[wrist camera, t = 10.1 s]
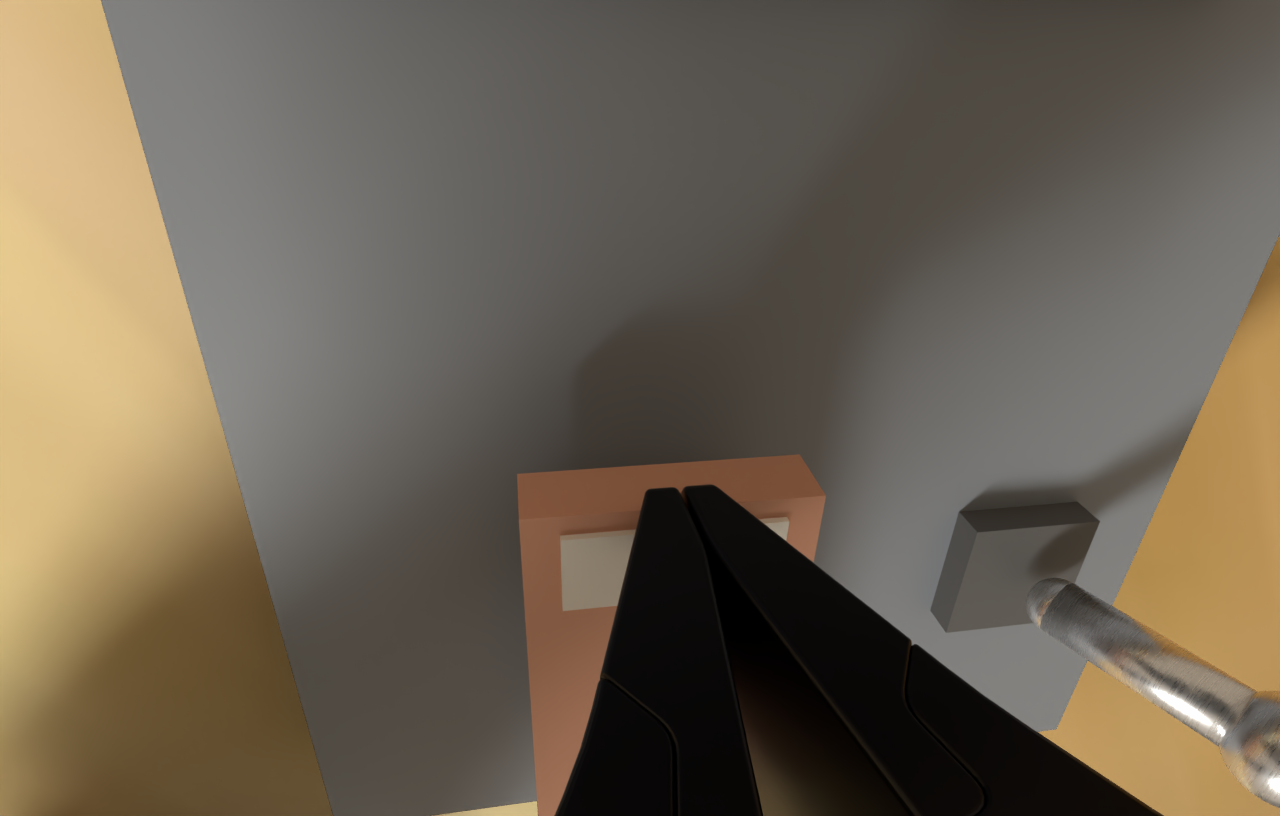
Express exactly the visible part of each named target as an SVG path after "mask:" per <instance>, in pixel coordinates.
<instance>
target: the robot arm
mask: <svg viewBox="0 0 1280 816" xmlns="http://www.w3.org/2000/svg"><path fill="white" fill-rule="evenodd" d="M554 816H1164V815H1162V814H1160V813H1159V812H1157V811H1156V810H1154V809H1152V808H1151V807H1149V806H1148V805H1146V804H1145V803H1143V802H1142V801H1140V800H1139V799H1137V798H1136V797H1134V796H1133V795H1131V794H1130V793H1128V792H1127V791H1125V790H1124V789H1122V788H1121V787H1119V786H1118V785H1116V784H1115V783H1113V782H1112V781H1110V780H1109V779H1107V778H1106V777H1104V776H1103V775H1101V774H1100V773H1098V772H1097V771H1095V770H1094V769H1092V768H1091V767H1089V766H1088V765H1086V764H1085V763H1083V762H1082V761H1080V760H1079V759H1077V758H1076V757H1074V756H1073V755H1071V754H1070V753H1068V752H1067V751H1065V750H1064V749H1062V748H1061V747H1059V746H1058V745H1056V744H1055V743H1053V742H1052V741H1050V740H1049V739H1047V738H1046V737H1044V736H1043V735H1041V734H1040V733H1038V732H1036V731H1035V730H1033V729H1032V728H1031V727H1029V726H1028V725H1026V724H1025V723H1023V722H1022V721H1020V720H1019V719H1018V718H1016V717H1015V716H1013V715H1012V714H1010V713H1009V712H1007V711H1006V710H1005V709H1003V708H1002V707H1000V706H999V705H997V704H996V703H994V702H993V701H992V700H990V699H989V698H987V697H986V696H984V695H983V694H982V693H980V692H979V691H978V690H976V689H975V688H974V687H972V686H971V685H970V684H968V683H967V682H966V681H964V680H963V679H962V678H960V677H959V676H958V675H956V674H955V673H954V672H952V671H951V670H950V669H948V668H947V667H946V666H944V665H943V664H942V663H941V662H939V661H938V660H937V659H936V658H934V657H933V656H932V655H930V654H929V653H928V652H927V651H925V650H924V649H923V648H922V647H920V646H919V645H917V644H914V645H912V641H911V639H910V638H909V637H907V636H906V635H905V634H903V633H902V632H901V631H900V630H898V629H897V628H896V627H895V626H893V625H892V624H891V623H890V622H888V621H887V620H886V619H884V618H883V617H882V616H881V615H879V614H878V613H877V612H876V611H874V610H873V609H872V608H870V607H869V606H868V605H867V604H865V603H864V602H863V601H862V600H860V599H859V598H858V597H857V596H855V595H854V594H853V593H851V592H850V591H849V590H848V589H846V588H845V587H844V586H843V585H841V584H840V583H839V582H838V581H836V580H835V579H834V578H832V577H831V576H830V575H829V574H827V573H826V572H825V571H824V570H822V569H821V568H820V567H819V566H817V565H816V564H815V563H813V562H812V561H811V560H810V559H808V558H807V557H806V556H805V555H803V554H802V553H801V552H799V551H798V550H797V549H796V548H794V547H793V546H792V545H791V544H789V543H788V542H787V541H786V540H784V539H783V538H782V537H780V536H779V535H778V534H777V533H775V532H774V531H773V530H772V529H770V528H769V527H768V526H767V525H765V524H764V523H763V522H761V521H760V520H759V519H758V518H756V517H755V516H754V515H753V514H751V513H750V512H749V511H747V510H746V509H745V508H744V507H742V506H741V505H740V504H739V503H737V502H736V501H735V500H734V499H732V498H731V497H730V496H728V495H727V494H726V493H725V492H723V491H722V490H721V489H720V488H718V487H717V486H715V485H712V484H707V485H693V486H686V487H684V488H683V489H682V491H681V494H680V492H679V490H678V489H677V488H675V487H666V488H652V489H648V490H646V492H645V494H644V498H643V502H642V507H641V511H640V515H639V519H638V523H637V527H636V531H635V535H634V539H633V543H632V547H631V551H630V556H629V560H628V564H627V568H626V572H625V576H624V580H623V584H622V588H621V592H620V596H619V601H618V605H617V609H616V613H615V617H614V621H613V625H612V629H611V633H610V637H609V641H608V645H607V650H606V654H605V658H604V662H603V666H602V670H601V674H600V681H599V682H598V684H597V689H596V693H595V697H594V701H593V705H592V709H591V713H590V716H589V720H588V723H587V726H586V730H585V733H584V737H583V740H582V744H581V747H580V750H579V753H578V756H577V758H576V761H575V764H574V766H573V769H572V772H571V774H570V777H569V780H568V783H567V785H566V788H565V791H564V793H563V796H562V798H561V801H560V803H559V806H558V808H557V811H556V813H555V815H554Z"/></svg>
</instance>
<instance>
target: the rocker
mask: <svg viewBox="0 0 1280 816" xmlns="http://www.w3.org/2000/svg"><path fill="white" fill-rule="evenodd" d="M707 484H712V485H715V486H717V487H718V488H720V489H721V490H722V491H723V492H725V493H726V494H727V495H728V496H730V497H731V498H732V499H734V500H735V501H736V502H737V503H739V504H740V505H741V506H742V507H744V508H745V509H746V510H747V511H749V512H750V513H751V514H753V515H754V516H755V517H756V518H758V519H759V520H760V521H761V522H763V523H764V524H765V525H767V526H768V527H769V528H770V529H772V530H773V531H774V532H775V533H777V534H778V535H779V536H780V537H782V538H783V539H784V540H786V541H787V542H788V543H789V544H791V545H792V546H793V547H794V548H796V549H797V550H798V551H799V552H801V553H802V554H803V555H805V556H806V557H807V558H808V559H810V560H811V561H812V562H813V563H814V557H815V552H816V547H817V541H818V536H819V531H820V525H821V520H822V515H823V510H824V504H825V499H826V495H825V493H824V492H823V490H822V489H821V487H820V485H819V484H818V482H817V481H816V479H815V478H814V476H813V474H812V473H811V471H810V470H809V468H808V467H807V465H806V464H805V462H804V460H803V459H802V457H801V456H800V454H798V455H784V456H769V457H755V458H740V459H726V460H711V461H697V462H682V463H668V464H653V465H639V466H624V467H610V468H595V469H581V470H566V471H552V472H537V473H523V474H517V485H518V511H519V530H520V545H521V561H522V576H523V592H524V607H525V622H526V638H527V653H528V669H529V684H530V700H531V715H532V730H533V746H534V761H535V777H536V792H537V807H538V816H554V815H555V813H556V811H557V808H558V806H559V803H560V801H561V798H562V796H563V793H564V791H565V788H566V785H567V783H568V780H569V777H570V774H571V772H572V769H573V766H574V764H575V761H576V758H577V756H578V753H579V750H580V747H581V744H582V740H583V737H584V733H585V730H586V726H587V723H588V720H589V716H590V713H591V709H592V705H593V701H594V697H595V693H596V689H597V684H598V682H599V681H600V674H601V670H602V666H603V662H604V658H605V654H606V650H607V645H608V641H609V637H610V633H611V629H612V625H613V621H614V617H615V613H616V609H617V605H618V601H619V596H620V592H621V588H622V584H623V580H624V576H625V572H626V568H627V564H628V560H629V556H630V551H631V547H632V543H633V539H634V535H635V531H636V527H637V523H638V519H639V515H640V511H641V507H642V502H643V498H644V494H645V492H646V490H648V489H652V488H666V487H675V488H677V489H678V490H679V492H680V494H681V491H682V489H683V488H684V487H686V486H693V485H707Z"/></svg>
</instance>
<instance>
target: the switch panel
mask: <svg viewBox="0 0 1280 816" xmlns="http://www.w3.org/2000/svg"><path fill="white" fill-rule="evenodd" d="M101 2H102V6H103V9H104V13H105V16H106V20H107V23H108V27H109V30H110V34H111V37H112V41H113V44H114V48H115V51H116V55H117V58H118V62H119V65H120V69H121V73H122V76H123V80H124V83H125V87H126V90H127V94H128V97H129V101H130V104H131V108H132V111H133V115H134V118H135V122H136V125H137V129H138V132H139V136H140V139H141V143H142V146H143V150H144V153H145V157H146V160H147V164H148V167H149V171H150V174H151V178H152V181H153V185H154V188H155V192H156V195H157V199H158V202H159V206H160V209H161V213H162V216H163V220H164V223H165V227H166V230H167V234H168V237H169V241H170V245H171V248H172V252H173V255H174V259H175V262H176V266H177V269H178V273H179V276H180V280H181V283H182V287H183V290H184V294H185V297H186V301H187V304H188V308H189V311H190V315H191V318H192V322H193V325H194V329H195V332H196V336H197V339H198V343H199V346H200V350H201V353H202V357H203V360H204V364H205V367H206V371H207V374H208V378H209V381H210V385H211V388H212V392H213V395H214V399H215V402H216V406H217V409H218V413H219V416H220V420H221V424H222V427H223V431H224V434H225V438H226V441H227V445H228V448H229V452H230V455H231V459H232V462H233V466H234V469H235V473H236V476H237V480H238V483H239V487H240V490H241V494H242V497H243V501H244V504H245V508H246V511H247V515H248V518H249V522H250V525H251V529H252V532H253V536H254V539H255V543H256V546H257V550H258V553H259V557H260V560H261V564H262V567H263V571H264V574H265V578H266V581H267V585H268V588H269V592H270V595H271V599H272V603H273V606H274V610H275V613H276V617H277V620H278V624H279V627H280V631H281V634H282V638H283V641H284V645H285V648H286V652H287V655H288V659H289V662H290V666H291V669H292V673H293V676H294V680H295V683H296V687H297V690H298V694H299V697H300V701H301V704H302V708H303V711H304V715H305V718H306V722H307V725H308V729H309V732H310V736H311V739H312V743H313V746H314V750H315V753H316V757H317V760H318V764H319V767H320V771H321V775H322V778H323V782H324V785H325V789H326V792H327V796H328V799H329V803H330V806H331V810H332V813H333V816H432V815H439V814H446V813H453V812H461V811H468V810H475V809H482V808H490V807H497V806H504V805H511V804H518V803H526V802H533V801H537V792H536V777H535V761H534V746H533V730H532V715H531V700H530V684H529V669H528V653H527V638H526V622H525V607H524V592H523V576H522V561H521V545H520V530H519V511H518V485H517V474H523V473H537V472H552V471H566V470H581V469H595V468H610V467H624V466H639V465H653V464H668V463H682V462H697V461H711V460H726V459H740V458H755V457H769V456H784V455H798V454H800V456H801V457H802V459H803V460H804V462H805V464H806V465H807V467H808V468H809V470H810V471H811V473H812V474H813V476H814V478H815V479H816V481H817V482H818V484H819V485H820V487H821V489H822V490H823V492H824V493H825V495H826V499H825V504H824V510H823V515H822V520H821V525H820V531H819V536H818V541H817V547H816V552H815V557H814V563H815V564H816V565H817V566H819V567H820V568H821V569H822V570H824V571H825V572H826V573H827V574H829V575H830V576H831V577H832V578H834V579H835V580H836V581H838V582H839V583H840V584H841V585H843V586H844V587H845V588H846V589H848V590H849V591H850V592H851V593H853V594H854V595H855V596H857V597H858V598H859V599H860V600H862V601H863V602H864V603H865V604H867V605H868V606H869V607H870V608H872V609H873V610H874V611H876V612H877V613H878V614H879V615H881V616H882V617H883V618H884V619H886V620H887V621H888V622H890V623H891V624H892V625H893V626H895V627H896V628H897V629H898V630H900V631H901V632H902V633H903V634H905V635H906V636H907V637H909V638H910V639H911V641H912V645H914V644H917V645H919V646H920V647H922V648H923V649H924V650H925V651H927V652H928V653H929V654H930V655H932V656H933V657H934V658H936V659H937V660H938V661H939V662H941V663H942V664H943V665H944V666H946V667H947V668H948V669H950V670H951V671H952V672H954V673H955V674H956V675H958V676H959V677H960V678H962V679H963V680H964V681H966V682H967V683H968V684H970V685H971V686H972V687H974V688H975V689H976V690H978V691H979V692H980V693H982V694H983V695H984V696H986V697H987V698H989V699H990V700H992V701H993V702H994V703H996V704H997V705H999V706H1000V707H1002V708H1003V709H1005V710H1006V711H1007V712H1009V713H1010V714H1012V715H1013V716H1015V717H1016V718H1018V719H1019V720H1020V721H1022V722H1023V723H1025V724H1026V725H1028V726H1029V727H1031V728H1032V729H1033V730H1035V731H1036V732H1040V731H1047V730H1054V729H1057V727H1058V725H1059V722H1060V720H1061V718H1062V716H1063V714H1064V711H1065V709H1066V707H1067V705H1068V702H1069V700H1070V698H1071V696H1072V694H1073V691H1074V689H1075V687H1076V685H1077V682H1078V680H1079V678H1080V676H1081V674H1082V671H1083V669H1084V667H1085V665H1086V663H1087V660H1086V659H1085V658H1083V657H1082V656H1080V655H1079V654H1077V653H1075V652H1074V651H1072V650H1071V649H1069V648H1068V647H1066V646H1065V645H1063V644H1062V643H1060V642H1059V641H1057V640H1056V639H1054V638H1053V637H1051V636H1050V635H1048V634H1047V633H1045V632H1044V631H1042V630H1041V629H1039V628H1038V627H1037V626H1036V625H1035V624H1034V623H1033V622H1032V620H1031V619H1030V617H1029V615H1028V612H1027V610H1026V597H1027V594H1028V592H1029V590H1030V589H1031V588H1032V587H1033V585H1034V584H1036V583H1037V582H1039V581H1041V580H1044V579H1047V578H1062V579H1065V580H1068V581H1070V582H1073V583H1074V584H1076V585H1078V586H1079V587H1081V588H1083V589H1085V590H1086V591H1088V592H1090V593H1091V594H1093V595H1095V596H1096V597H1098V598H1100V599H1101V600H1103V601H1105V602H1107V603H1108V604H1110V605H1113V603H1114V600H1115V598H1116V596H1117V594H1118V592H1119V589H1120V587H1121V585H1122V583H1123V580H1124V578H1125V576H1126V574H1127V572H1128V569H1129V567H1130V565H1131V563H1132V561H1133V558H1134V556H1135V554H1136V552H1137V549H1138V547H1139V545H1140V543H1141V541H1142V538H1143V536H1144V534H1145V532H1146V529H1147V527H1148V525H1149V523H1150V521H1151V518H1152V516H1153V514H1154V512H1155V510H1156V507H1157V505H1158V503H1159V501H1160V498H1161V496H1162V494H1163V492H1164V490H1165V487H1166V485H1167V483H1168V481H1169V478H1170V476H1171V474H1172V472H1173V470H1174V467H1175V465H1176V463H1177V461H1178V459H1179V456H1180V454H1181V452H1182V450H1183V447H1184V445H1185V443H1186V441H1187V439H1188V436H1189V434H1190V432H1191V430H1192V427H1193V425H1194V423H1195V421H1196V419H1197V416H1198V414H1199V412H1200V410H1201V408H1202V405H1203V403H1204V401H1205V399H1206V396H1207V394H1208V392H1209V390H1210V388H1211V385H1212V383H1213V381H1214V379H1215V376H1216V374H1217V372H1218V370H1219V368H1220V365H1221V363H1222V361H1223V359H1224V357H1225V354H1226V352H1227V350H1228V348H1229V345H1230V343H1231V341H1232V339H1233V337H1234V334H1235V332H1236V330H1237V328H1238V325H1239V323H1240V321H1241V319H1242V317H1243V314H1244V312H1245V310H1246V308H1247V306H1248V303H1249V301H1250V299H1251V297H1252V294H1253V292H1254V290H1255V288H1256V286H1257V283H1258V281H1259V279H1260V277H1261V274H1262V272H1263V270H1264V268H1265V266H1266V263H1267V261H1268V259H1269V257H1270V255H1271V252H1272V250H1273V248H1274V246H1275V243H1276V241H1277V239H1278V237H1279V235H1280V0H101Z"/></svg>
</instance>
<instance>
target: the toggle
mask: <svg viewBox="0 0 1280 816" xmlns="http://www.w3.org/2000/svg"><path fill="white" fill-rule="evenodd" d="M1026 610H1027V612H1028V615H1029V617H1030V619H1031V620H1032V622H1033V623H1034V624H1035V625H1036V626H1037V627H1038V628H1039V629H1041V630H1042V631H1044V632H1045V633H1047V634H1048V635H1050V636H1051V637H1053V638H1054V639H1056V640H1057V641H1059V642H1060V643H1062V644H1063V645H1065V646H1066V647H1068V648H1069V649H1071V650H1072V651H1074V652H1075V653H1077V654H1079V655H1080V656H1082V657H1083V658H1085V659H1086V660H1088V661H1089V662H1091V663H1092V664H1094V665H1095V666H1097V667H1098V668H1100V669H1101V670H1103V671H1104V672H1106V673H1107V674H1109V675H1110V676H1112V677H1114V678H1115V679H1117V680H1118V681H1120V682H1121V683H1123V684H1124V685H1126V686H1127V687H1129V688H1130V689H1132V690H1133V691H1135V692H1136V693H1138V694H1139V695H1141V696H1142V697H1144V698H1145V699H1147V700H1148V701H1150V702H1152V703H1153V704H1155V705H1156V706H1158V707H1159V708H1161V709H1162V710H1164V711H1165V712H1167V713H1168V714H1170V715H1171V716H1173V717H1174V718H1176V719H1177V720H1179V721H1180V722H1182V723H1183V724H1185V725H1186V726H1188V727H1190V728H1191V729H1193V730H1194V731H1196V732H1197V733H1199V734H1200V735H1202V736H1203V737H1205V738H1206V739H1208V740H1209V741H1211V742H1212V743H1214V744H1215V745H1217V746H1218V747H1219V750H1220V753H1221V756H1222V758H1223V761H1224V762H1225V764H1226V766H1227V768H1228V769H1229V770H1230V772H1231V773H1232V775H1233V776H1234V777H1235V778H1236V779H1237V780H1238V781H1239V783H1240V784H1242V785H1243V786H1244V787H1245V788H1246V789H1247V790H1248V791H1250V792H1251V793H1252V794H1254V795H1255V796H1257V797H1258V798H1260V799H1261V800H1263V801H1265V802H1267V803H1269V804H1271V805H1273V806H1276V807H1278V808H1280V691H1260V692H1257V691H1256V690H1254V689H1252V688H1250V687H1249V686H1247V685H1245V684H1244V683H1242V682H1240V681H1239V680H1237V679H1235V678H1234V677H1232V676H1230V675H1228V674H1227V673H1225V672H1223V671H1222V670H1220V669H1218V668H1217V667H1215V666H1213V665H1212V664H1210V663H1208V662H1206V661H1205V660H1203V659H1201V658H1200V657H1198V656H1196V655H1195V654H1193V653H1191V652H1190V651H1188V650H1186V649H1184V648H1183V647H1181V646H1179V645H1178V644H1176V643H1174V642H1173V641H1171V640H1169V639H1168V638H1166V637H1164V636H1162V635H1161V634H1159V633H1157V632H1156V631H1154V630H1152V629H1151V628H1149V627H1147V626H1146V625H1144V624H1142V623H1140V622H1139V621H1137V620H1135V619H1134V618H1132V617H1130V616H1129V615H1127V614H1125V613H1124V612H1122V611H1120V610H1118V609H1117V608H1115V607H1113V606H1112V605H1110V604H1108V603H1107V602H1105V601H1103V600H1101V599H1100V598H1098V597H1096V596H1095V595H1093V594H1091V593H1090V592H1088V591H1086V590H1085V589H1083V588H1081V587H1079V586H1078V585H1076V584H1074V583H1073V582H1070V581H1068V580H1065V579H1062V578H1047V579H1044V580H1041V581H1039V582H1037V583H1036V584H1034V585H1033V587H1032V588H1031V589H1030V590H1029V592H1028V594H1027V597H1026Z"/></svg>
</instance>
